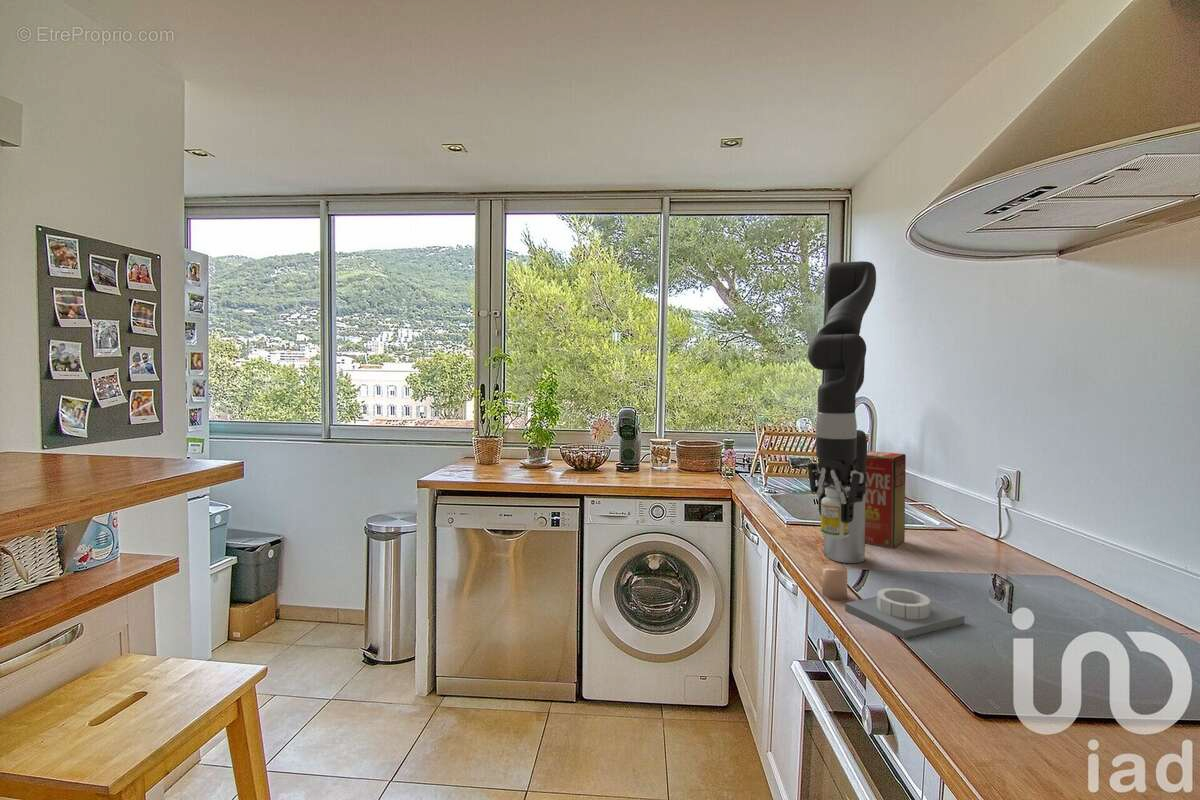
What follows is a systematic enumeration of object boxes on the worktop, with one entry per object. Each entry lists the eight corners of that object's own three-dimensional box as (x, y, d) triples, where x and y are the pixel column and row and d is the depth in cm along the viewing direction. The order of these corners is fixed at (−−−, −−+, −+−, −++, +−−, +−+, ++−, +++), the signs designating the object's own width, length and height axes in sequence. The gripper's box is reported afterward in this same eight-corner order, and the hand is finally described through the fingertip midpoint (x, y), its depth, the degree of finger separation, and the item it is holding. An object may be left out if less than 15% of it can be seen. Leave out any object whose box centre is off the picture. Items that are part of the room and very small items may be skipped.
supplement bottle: (828, 539, 117) (828, 491, 116) (816, 531, 122) (816, 485, 122) (854, 538, 117) (855, 490, 117) (841, 531, 123) (842, 485, 122)
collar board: (845, 610, 121) (845, 591, 121) (902, 597, 127) (902, 579, 127) (903, 638, 108) (904, 617, 108) (964, 623, 114) (964, 602, 114)
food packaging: (844, 539, 170) (845, 452, 168) (857, 532, 176) (858, 449, 175) (894, 549, 160) (895, 457, 159) (906, 541, 167) (907, 453, 166)
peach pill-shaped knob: (817, 593, 130) (817, 566, 130) (834, 589, 132) (835, 563, 132) (834, 601, 126) (834, 573, 126) (852, 597, 128) (852, 570, 127)
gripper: (879, 437, 113) (878, 525, 114) (825, 430, 127) (824, 508, 128) (848, 440, 111) (847, 529, 112) (796, 432, 124) (796, 512, 125)
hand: (835, 518), depth 120 cm, fingers closed on supplement bottle, 5 cm apart
